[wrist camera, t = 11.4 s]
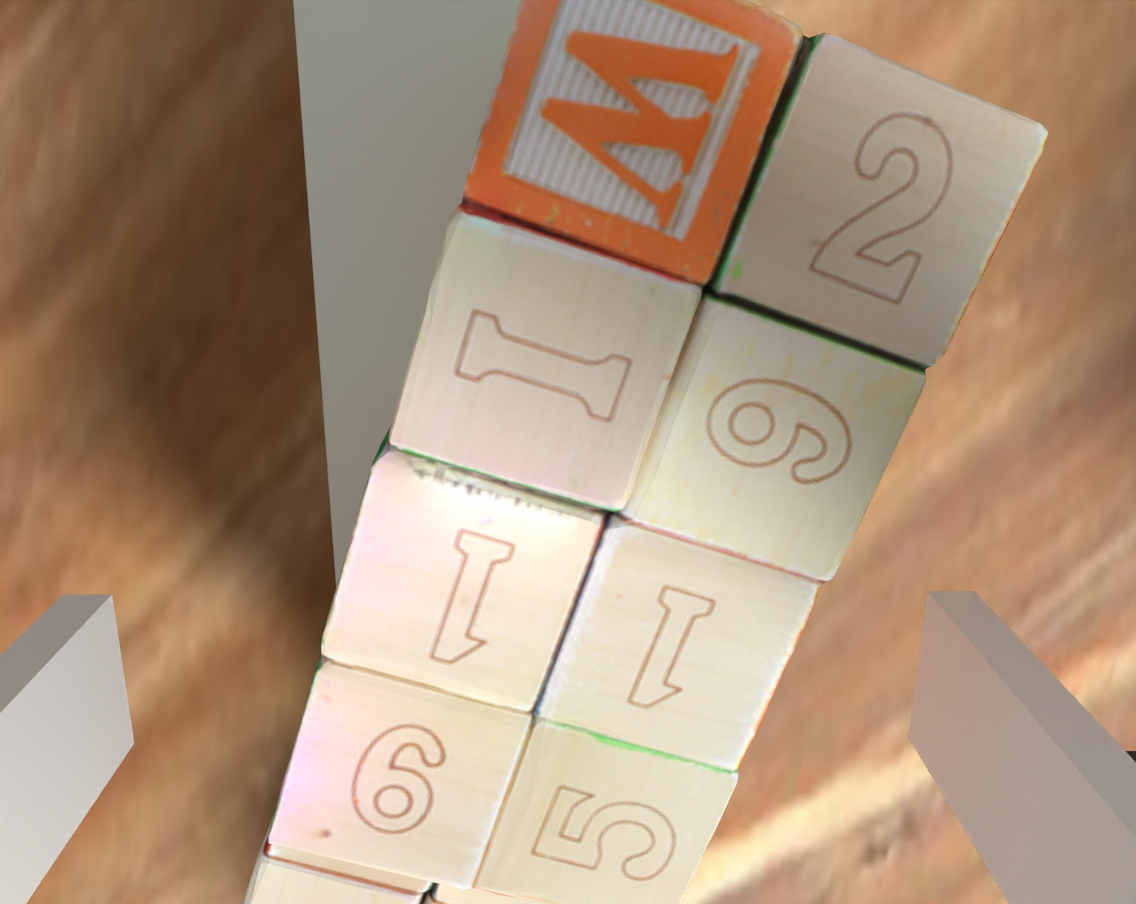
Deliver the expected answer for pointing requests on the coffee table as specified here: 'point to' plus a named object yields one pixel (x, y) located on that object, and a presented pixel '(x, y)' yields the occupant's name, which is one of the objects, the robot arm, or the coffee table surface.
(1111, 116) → the coffee table surface
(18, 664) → the robot arm
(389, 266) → the plinth
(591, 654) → the stack of blocks
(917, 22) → the coffee table surface
